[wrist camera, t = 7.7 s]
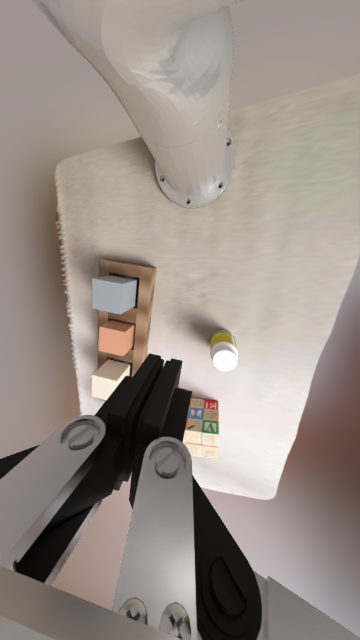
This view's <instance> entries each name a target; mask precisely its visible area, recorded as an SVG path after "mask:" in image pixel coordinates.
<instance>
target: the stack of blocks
mask: <svg viewBox="0 0 360 640" xmlns="http://www.w3.org/2000/svg"><path fill="white" fill-rule="evenodd" d="M218 439H219V422H218V401H212V400H204V399H196V398H191V399H190V405H189V411H188V416H187V422H186V427H185V433H184V438H183V444H184V445H185V446H186V447H187V448H188V450H189V452H190V454H191V455H193V456H199V457H207V458H214V459H218Z"/></svg>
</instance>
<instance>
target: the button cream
mask: <svg viewBox="0 0 360 640" xmlns="http://www.w3.org/2000/svg"><path fill="white" fill-rule="evenodd" d="M129 375H130V364H126V363H122V362H118V361H113V360H109V359H108V360H107V361H106V362H105V363H104V364H103V365H102V366H101V367H100V368H99V369H98V370H97V371H95V372H94V373H93V374H92V397H96V398H100V399H103V400H107V399H108V398H109V396H110V395H111V394H112V393H113V391H114V390H115V389H116V387H117V386H118V385H119V384H120V382H121V381H122V380H123V378H124V377H125V376H129Z"/></svg>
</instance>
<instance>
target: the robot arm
mask: <svg viewBox="0 0 360 640" xmlns="http://www.w3.org/2000/svg"><path fill="white" fill-rule="evenodd" d="M240 1H243V0H33V2H34V3H35V4H36V5H37V7H38V8H39V9H40V10H41V12H43V14H44V15H45V16H46V17H47V19H48V20H49V21H50V22H51V23H52V24H53V25H54V26H55V28H56V29H57V30H58V31H59V32H60V33H61V34H62V35H63V36H64V37H65V38H66V40H68V42H69V43H70V44H71V45H72V46H73V47H74V48H75V49H76V50H77V51H78V52H79V53H80V54H81V55H82V56H83V57H84V58H85V59H86V60H87V61H88V62H89V63H90V64H91V65H92V66H93V67H94V68H95V69H96V70H97V72H98V73H99V74H100V75H101V76H102V77H103V79H104V80H105V81H106V82H107V83H108V85H109V86H110V88H111V89H112V91H113V92H114V93H115V95H116V96H117V98H118V99H119V101H120V102H121V104H122V105H123V107H124V108H125V110H126V112H127V113H128V115H129V117H130V118H131V120H132V122H133V124H134V125H135V127H136V128H137V130H138V132H139V133H140V135H141V137H142V138H143V140H144V142H145V143H146V145H147V147H148V148H149V150H150V152H151V153H152V155H153V157H154V158H155V171H156V176H157V180H158V183H159V185H160V187H161V189H162V191H163V192H164V193H165V195H166V196H167V197H168V198H169V199H170V200H171V201H172V202H174V203H175V204H177V205H179V206H182V207H186V208H198V207H202V206H205V205H207V204H209V203H211V202H212V201H214V200H215V199H216V198H218V196H219V195H220V194H221V193H222V192H223V191H224V189H225V188H226V186H227V185H228V183H229V181H230V178H231V176H232V172H233V169H234V163H235V145H234V140H233V137H232V134H231V132H230V130H229V128H228V126H227V125H228V114H229V101H230V89H231V80H232V70H233V59H234V36H233V26H232V18H231V12H230V7H229V5H231V4H234V3H237V2H240ZM227 144H229V146H227ZM163 179H164V181H163V182H162V180H163ZM220 185H221V186H222V188H219V186H220ZM188 201H190V203H189V204H187V202H188ZM163 365H164V360H163V359H161V356H159V355H154V354H149V355H148V356H147V358H146V359H145V360H144V362H143V363H142V365H141V366H140V368H139V369H138V370H137V372H136V373H135V375H134V376H133V377H131V376H125V377H124V378H123V380H122V381H121V382H120V384H119V385H118V386H117V387H116V389H115V390H114V391H113V393H112V394H111V395H110V396H109V398H108V399H107V400H106V402H105V403H104V404H103V405H102V407H101V408H100V409H99V411H98V412H97V413H96V414H95V416H93V415H83V416H79V417H76V418H73V419H71V420H69V421H68V422H67V423H65V424H64V425H62V426H61V427H60V428H59V429H58V430H57V431H55V432H54V433H53V434H52V435H51V436H50V437H49V438H48V439H46V440H45V441H44V442H43V443H42V444H41V445H38V446H35V447H32V448H30V449H27V450H24V451H21V452H19V453H16V454H13V455H10V456H7V457H5V458H2V459H0V640H360V637H358V636H357V635H355V634H354V633H352V632H351V631H349V630H348V629H346V628H345V627H343V626H342V625H341V624H339V623H337V622H336V621H335V620H333V619H331V618H330V617H329V616H327V615H326V614H324V613H323V612H321V611H320V610H318V609H317V608H315V607H314V606H312V605H311V604H309V603H308V602H306V601H305V600H304V599H302V598H301V597H299V596H298V595H296V594H295V593H293V592H292V591H290V590H289V589H287V588H286V587H284V586H282V585H281V584H280V583H278V582H277V581H275V580H274V579H272V578H271V577H269V576H268V577H267V579H264V578H263V577H262V576H260V575H259V574H258V573H256V572H255V571H253V570H252V568H251V566H250V564H249V562H248V560H247V559H246V557H245V556H244V554H243V553H242V551H241V550H240V548H239V547H238V545H237V543H236V542H235V540H234V539H233V537H232V536H231V534H230V533H229V531H228V529H227V528H226V526H225V525H224V523H223V522H222V520H221V519H220V517H219V516H218V514H217V512H216V511H215V509H214V508H213V506H212V505H211V503H210V502H209V500H208V499H207V497H206V496H205V494H204V492H203V491H202V490H201V488H200V486H199V485H198V483H197V481H196V480H195V478H194V477H193V475H192V460H191V454H190V452H189V450H188V448H187V447H186V446H185V445H184V444H183V438H184V433H185V427H186V422H187V416H188V411H189V405H190V399H191V394H192V391H188V390H184V389H180V388H178V384H179V379H180V373H181V367H182V361H181V360H176V359H171V361H166V363H165V365H164V367H163ZM131 473H132V478H131V488H130V497H129V501H130V504H131V507H132V509H133V511H132V516H131V521H130V526H129V530H128V535H127V540H126V545H125V549H124V554H123V559H122V564H121V569H120V574H119V578H118V583H117V588H116V593H115V598H114V603H113V607H112V611H111V610H109V609H106V608H104V607H101V606H98V605H96V604H94V603H91V602H89V601H86V600H84V599H82V598H79V597H77V596H74V595H72V594H69V593H67V592H64V591H62V590H59V589H57V588H54V587H52V584H53V582H54V581H55V579H56V577H57V575H58V574H59V572H60V571H61V569H62V567H63V566H64V564H65V563H66V561H67V559H68V557H69V556H70V554H71V553H72V551H73V549H74V548H75V546H76V544H77V543H78V541H79V540H80V538H81V536H82V535H83V533H84V531H85V530H86V528H87V527H88V525H89V523H90V522H91V520H92V518H93V517H94V515H95V513H96V512H97V510H98V508H99V506H100V504H101V502H102V499H104V498H105V497H107V496H109V495H111V493H112V491H113V489H114V490H119V489H120V487H121V484H122V482H123V481H126V482H127V481H128V480H129V477H130V475H131Z"/></svg>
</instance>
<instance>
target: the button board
mask: <svg viewBox="0 0 360 640" xmlns="http://www.w3.org/2000/svg"><path fill="white" fill-rule="evenodd" d="M117 274H121V275H127V276H133V277H138V278H140V280H139V292H138V305H137V304H135V306H134V307H132V308H131V309H129V310H127V311H126V312H124V313H122V314H116V313H111V312H106V311H101V310H99V319H98V369H99V368H100V367H101V366H102V365H103V364H104V363H105V362H106V361H107V360H108V359H109V360H113V358H114V359H118V360H122V361H126V362H131V363H133V366H132V377H133V376H134V375H135V373H136V372H137V370H138V369H139V368H140V366H141V365H142V363H143V362H144V360H145V359H146V358H147V348H148V339H149V330H150V321H151V311H152V302H153V293H154V283H155V274H156V268H155V267H149V266H143V265H137V264H131V263H125V262H120V261H114V260H102V259H99V277H105V276H111V275H112V276H117ZM112 319H116V320H121V321H126V322H131V323H135V324H136V329H135V341H134V346H133V347H132V348H131V349H130V350H129V351H128V352H127V353H126V354H125V355H124V356H119V355H115V354H111V353H106V352H102V351H99V327H100V326H101V325H103V324H105V323H106V322H108V321H110V320H112Z"/></svg>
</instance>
